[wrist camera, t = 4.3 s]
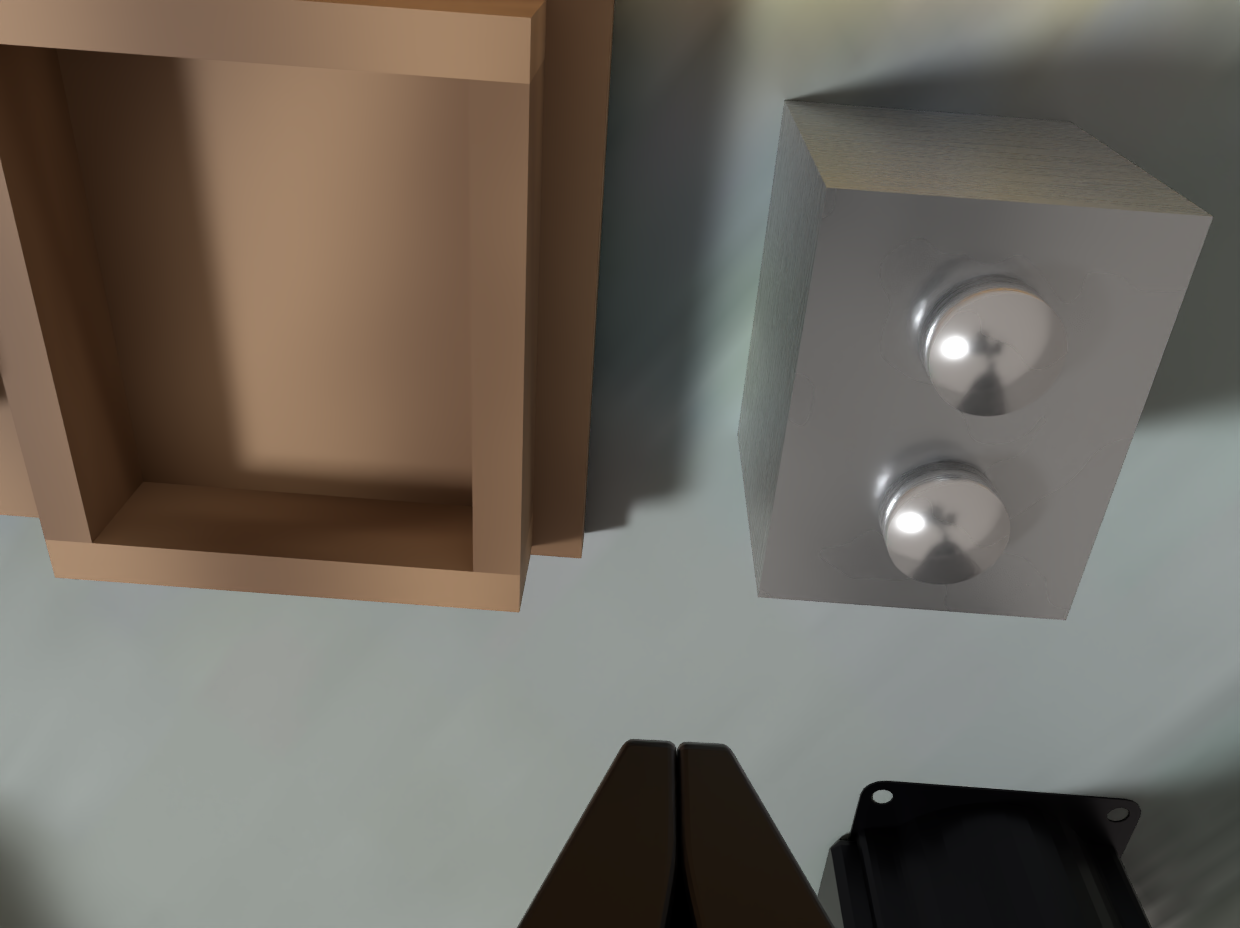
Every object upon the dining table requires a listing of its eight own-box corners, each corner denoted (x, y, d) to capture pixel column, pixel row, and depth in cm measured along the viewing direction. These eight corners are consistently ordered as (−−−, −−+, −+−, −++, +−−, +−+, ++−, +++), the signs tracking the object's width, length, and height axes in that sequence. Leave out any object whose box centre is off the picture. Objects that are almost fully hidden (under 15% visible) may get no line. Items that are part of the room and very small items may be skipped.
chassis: (615, -18, 15) (603, 13, 12) (584, 534, 20) (569, 651, 17) (-456, -99, 15) (-729, -88, 12) (-221, 474, 20) (-374, 581, 17)
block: (783, 98, 16) (834, 203, 11) (1068, 120, 16) (1238, 233, 11) (737, 431, 19) (760, 623, 15) (976, 449, 19) (1080, 647, 15)
